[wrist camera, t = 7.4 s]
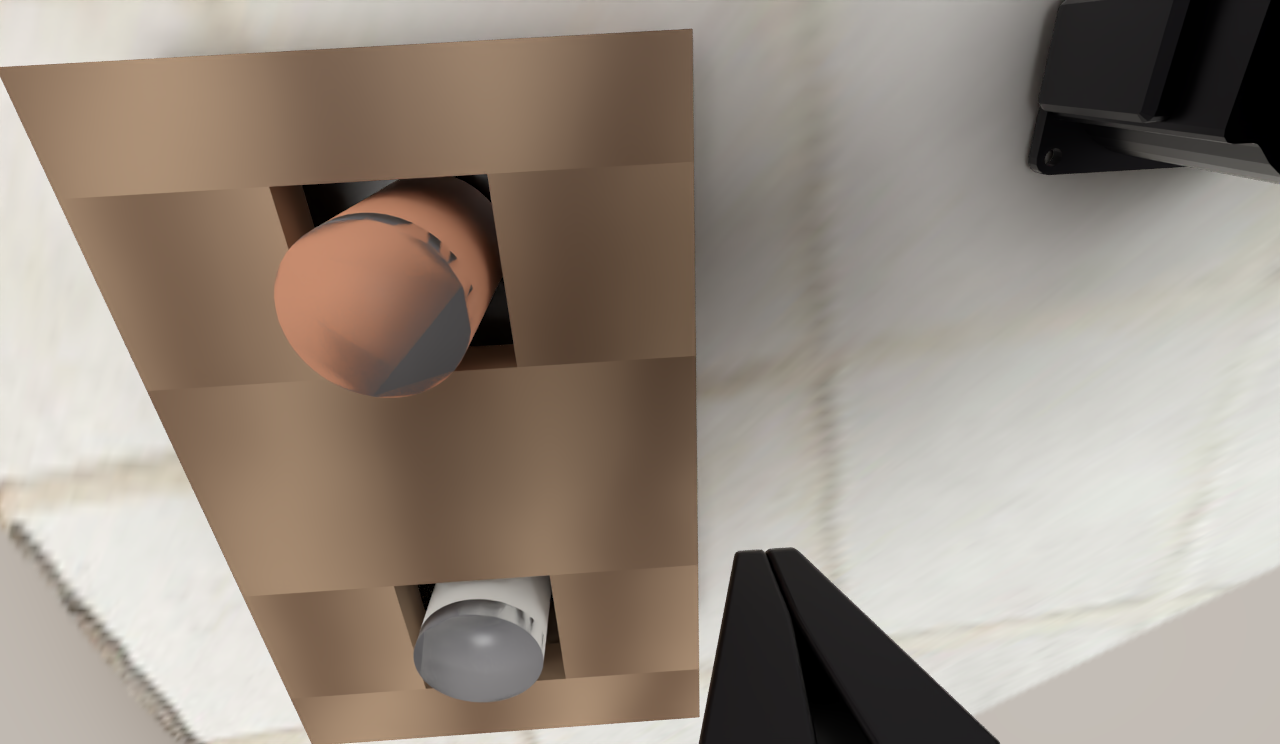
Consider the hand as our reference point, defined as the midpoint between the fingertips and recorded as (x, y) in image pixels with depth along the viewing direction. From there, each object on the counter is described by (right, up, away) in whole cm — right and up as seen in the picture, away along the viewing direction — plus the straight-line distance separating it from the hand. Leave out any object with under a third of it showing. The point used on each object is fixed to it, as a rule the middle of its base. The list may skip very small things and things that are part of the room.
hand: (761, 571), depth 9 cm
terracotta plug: (-8, +6, +9) cm, 14 cm away
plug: (-7, -4, +16) cm, 17 cm away
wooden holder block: (-7, +2, +13) cm, 15 cm away
